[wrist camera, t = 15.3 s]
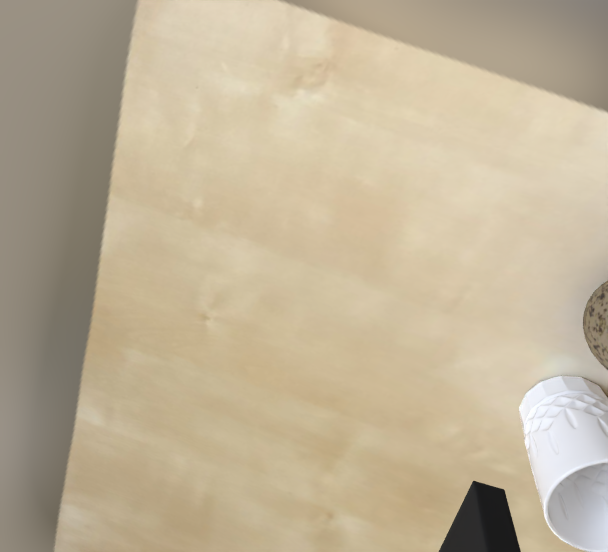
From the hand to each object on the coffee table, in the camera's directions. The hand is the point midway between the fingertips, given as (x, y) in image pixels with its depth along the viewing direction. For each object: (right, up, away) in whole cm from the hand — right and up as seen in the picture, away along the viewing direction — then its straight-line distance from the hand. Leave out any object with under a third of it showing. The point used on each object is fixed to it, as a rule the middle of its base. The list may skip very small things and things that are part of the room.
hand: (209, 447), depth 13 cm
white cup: (+23, -6, +28) cm, 37 cm away
